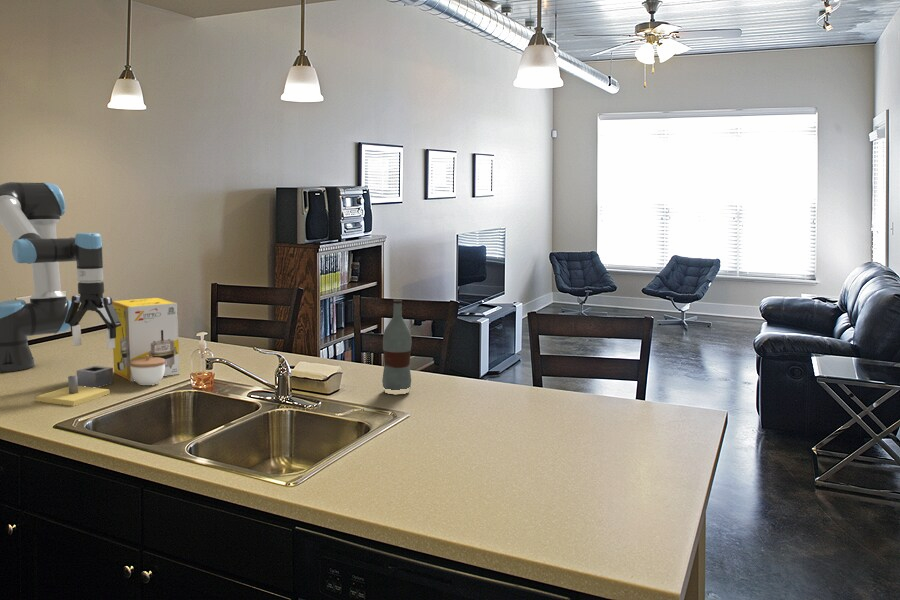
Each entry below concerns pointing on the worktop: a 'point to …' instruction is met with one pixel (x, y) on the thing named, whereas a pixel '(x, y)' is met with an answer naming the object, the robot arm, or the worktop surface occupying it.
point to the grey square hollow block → (95, 376)
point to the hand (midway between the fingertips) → (94, 347)
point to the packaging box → (146, 334)
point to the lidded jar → (147, 370)
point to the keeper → (72, 394)
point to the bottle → (397, 351)
